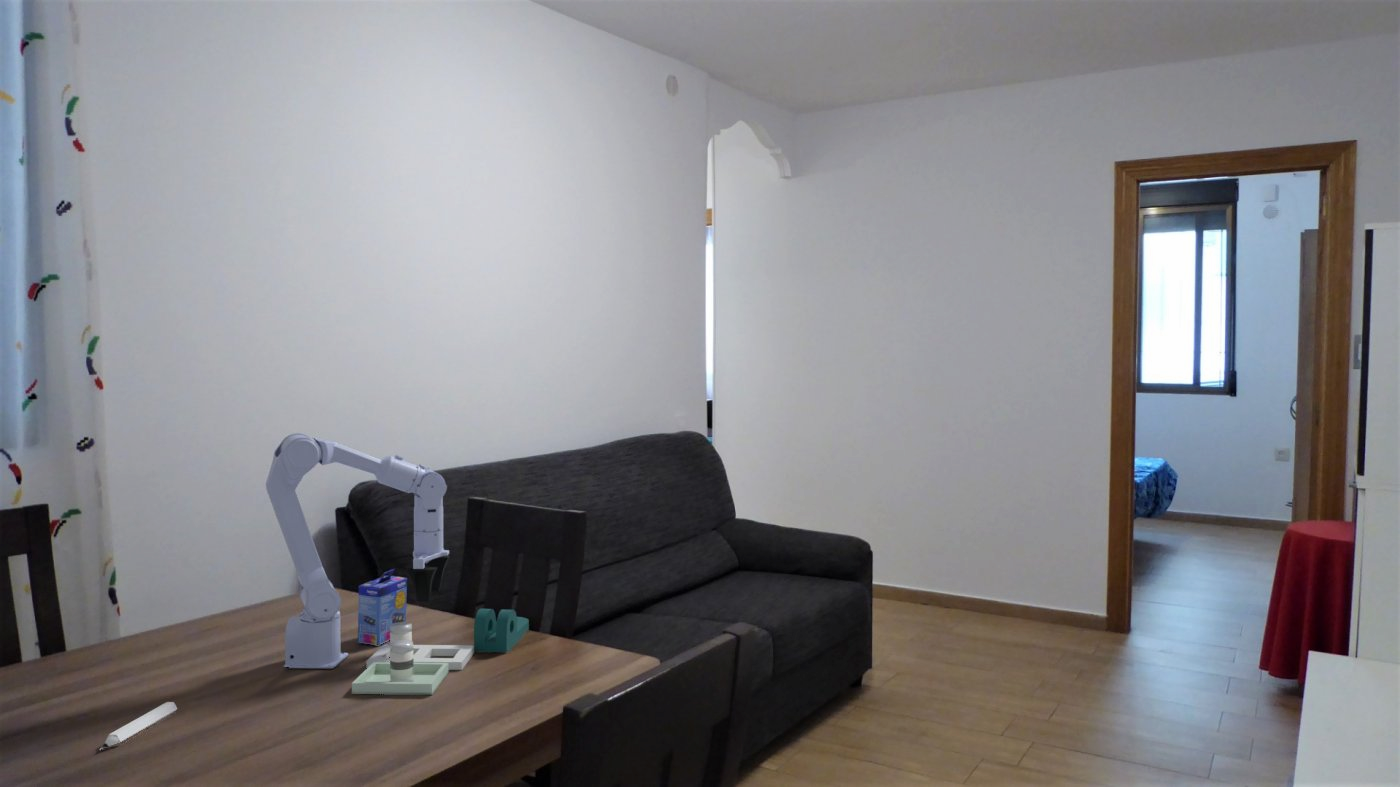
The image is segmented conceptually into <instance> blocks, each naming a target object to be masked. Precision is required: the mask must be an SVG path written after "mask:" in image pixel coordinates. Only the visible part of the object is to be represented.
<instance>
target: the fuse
mask: <svg viewBox="0 0 1400 787" xmlns="http://www.w3.org/2000/svg"><path fill="white" fill-rule="evenodd" d="M412 626H413V624H412V623H411V622H407V621H406V622H398V623H394V624H391V625H390V641H389V642H390V643H392V642H394V641H398V640H410V641H413V638H412V637H413V634H412V633H413V632H412V631H413V627H412ZM390 643H389V644H390Z"/></svg>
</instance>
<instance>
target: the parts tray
mask: <svg viewBox="0 0 1400 787" xmlns="http://www.w3.org/2000/svg"><path fill="white" fill-rule="evenodd" d="M413 672H414V681H413V682H390V662H373V663H372V664H371V665H370V666H369V667H368V668H367V669H366V668H365V669H364V671H363V672H362V673H360V675H358V677H356V679H354V681H352V682H351V695H352V694H353V693H354V694H355V693H357V694H358V693H359V694H380V696H433V694H434V693H435V692H436V690H437V689H438V688H439V687H440V685H441V684H442V682H444V680H445V679H446V677H447V676H448V675H449V670H448V663H414V666H413ZM381 694H382V695H381ZM383 694H384V695H383Z"/></svg>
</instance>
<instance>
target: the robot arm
mask: <svg viewBox="0 0 1400 787" xmlns="http://www.w3.org/2000/svg"><path fill="white" fill-rule="evenodd" d="M333 463H338V464H342V465H344V466H347V467H351V468H353V469H356V470H359V471H364V472H367V473H369V474H373V475H374V476H375V479H376V481H377V482H378V483H379V484H381V485H383V486H387V487H390V488H393V489H396V490H398V491H401V492H404V493H407V494H410V493H413V495H414V500H413V501H414V504H413V505H414V506H413V551H412V557H413V559H412V565H408V566H407V567H406V572H407V574H408V576H409V578H410V579H411V581H412V585H413V587H414V591H415V596H416V600H417V602H421V603H422V602H423V603H426V602H429V601H430V598H431V595H432V594H431V593H432V592H433V593H437V592H438V593H439V592H440V589H441V586H442V581H443V577H444V571H445V570H446V566H447V564H448V561H449V560H450V555H449V554H450V550H449V549H445V548H444V506H443V505H444V499H443V498H444V496H445V495H446V492H447V489H448V484H446V479H445V478H444V477H443V475H441V474H440V473H438V472H436V471H435V470H431V469H430V468H429V467H426V465H425V464H421V463H419V465H417V464H414V463H412V462H409V461H407V460H404V457H403V456H402V455H401V456H400V455H398V454H395V456H392V455H388V456H385V457H383V458H377V457H375V456H372V455H369V454H368V453H365V452H363V451H361V450H360V451H359V450H357V449H354V448H352V447H349V446H346V445H344V444H341V443H339V442H336V441H333V440H329V439H325V438H321V437H316V436H312V438H311V437H309V436H308V435H306V434H305V433H298V432H297V433H291V434H288V435H287V436H286V437H284V438H283V440H282V441H281V442H280V444H279V445H278V446H277V447H276V449H275V450H274V453H273V458H272V461H271V465H270V468H269V472H268V476H267V478H266V482H265V487H266V488H265V489H266V493H267V495H268V497H269V499H270V503H271V506H272V508H273V511H274V513H275V516H276V519H277V522H278V525H279V527H280V530H281V533H282V536H283V538H284V540H285V544H286V546H287V549H288V552H289V554H290V557H291V560H292V563H293V566H294V568H295V571H296V574H297V577H298V580H299V583H300V591H299V599H300V601H301V603H302V604H303V606H304V608H303V609H302V611H301V613H299V616H297V615H296V616H291V617H290V618H289V620H288V621H287V624H286V627H285V632H284V633H285V634H284V642H285V643H284V648H285V650H284V651H285V656H284V658H285V664H284V665H283V668H284V667H289V668H288V669H335V667H337V666H338V665H339V664H340V663H341V662H342V661H343V660H345V659H346V658H347V657H348V656H349V653H348V652H342V650H341V645H342V644H341V611H340V609H341V606H342V598H341V596H340V594H339V592H338V590H336V589H335V587H334V584H333V583H332V582H331V581H330V579H329V578H328V576H327V573H326V571H325V569H324V567H323V564H322V561H321V558H320V556H319V554H318V550H317V548H316V544H315V541H314V539H313V536H312V534H311V532H310V531H311V530H310V529H309V526H308V523H307V522H308V521H307V520H306V517H305V514H304V511H303V509H302V507H301V503H300V500H299V498H298V495H297V492H296V490H297V487H298V486H299V484H300V482H301V481H302V479H303V478H304V476H305V475H306V474H308V473H309V472H310V471H312V470H313V468H315V467H316V465H318V464H320V465H322V466H326V465H329V464H333Z"/></svg>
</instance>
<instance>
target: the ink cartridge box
mask: <svg viewBox="0 0 1400 787" xmlns="http://www.w3.org/2000/svg"><path fill="white" fill-rule="evenodd" d="M394 572H395V568H393V569H390V570H388V571H386V572H383V573H382V575H381V576H380V577H378V578H376V579H374V580H370V581H367V582H365V583H363V584H360V585H358V601H357V602H358V603H357V604H358V607H357V609H358V614H357V615H358V616H357V620H358V621H357V629H358V630H357V643H358V644H362V643H364V644H363V645H367V644H371V645H370V646H372V645H377V646H376V647H379V646H378V645H380V646H382V645H384V644H386V643H385V642H387V641H389V640H390V625H391V624H394V623H398V622H407V597H408V596H407V595H408V594H407V592H408V591H407V590H408V588H407V587H408V582H407V581H408V577H402V576H395V575H393V574H394ZM389 642H390V641H389ZM383 643H384V644H383ZM387 643H388V642H387ZM381 644H382V645H381Z"/></svg>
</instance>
